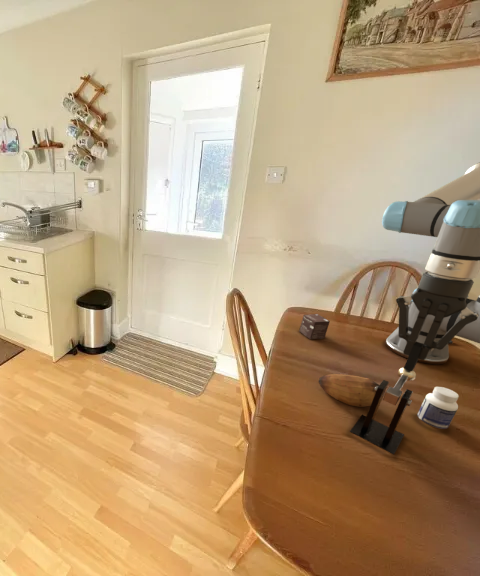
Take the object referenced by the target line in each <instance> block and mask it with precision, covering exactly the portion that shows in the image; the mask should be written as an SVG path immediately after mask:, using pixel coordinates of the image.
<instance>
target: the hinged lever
mask: <svg viewBox="0 0 480 576" xmlns="http://www.w3.org/2000/svg"><path fill="white" fill-rule="evenodd" d="M397 376H398V380H397V382H396V383H395V384H394V386H393V387H392V386H389V387H387V388H386V391H385V393H384V396H383V398H382V401H383V402H385V403H388V404H391V405H393V406H396V405H398V402H400V400H401V397H402V395H403V391H402V389H403V387H404V386H405V384H406V382H411V381H414V380H415V379H416V378H417V374H416V372H415V370H414V369H413V371H409V370H406V369H404V366H403V367H400V368H399V369H397Z"/></svg>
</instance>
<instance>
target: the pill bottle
mask: <svg viewBox="0 0 480 576" xmlns="http://www.w3.org/2000/svg"><path fill="white" fill-rule="evenodd" d="M459 398H460V396H459V394H458V393H457V392H456V391H454V390H452V389H450V388H448V387H443V386H435V387H434V388H433V390H432V392H429V393H427V394H426V395H425V398H424V399H423V402H422V403H421V406H420V407H419V410H418V412H417V415H416V416H417V417H418V419H419V420H420V421H422V422H423V423H424V424H426V425H428V426H431V427H433V428H436V429H441V430H446V429H449V427H450V425H451V423H452V421H453V419H454V418H455V415H456V413H457V411H458V408H459V405H458V403H457V401H458V399H459Z"/></svg>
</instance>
